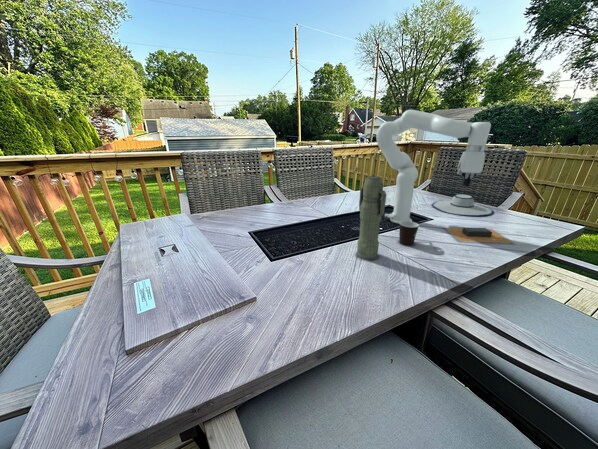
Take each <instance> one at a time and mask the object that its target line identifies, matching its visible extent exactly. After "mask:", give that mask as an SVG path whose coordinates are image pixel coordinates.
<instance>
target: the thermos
mask: <svg viewBox="0 0 598 449" xmlns="http://www.w3.org/2000/svg"><path fill="white" fill-rule="evenodd" d="M386 201H387V192H386V190H384V182H383V178H382V177H380V176H376V175H372V176H367V177H366V178H365V180H364V183H363V186H361V188H360V189H359V202H358V207H359V208H358V209H359V219H360V223H359V224H360V225H359V236H358V239H357V246H356V247H357V248H356V251H357V252H356V254H357V257H358V258H360V259H362V260H366V261H370V260H371V261H373V260H375V259H377V257H378V253H379V246H380V243H379V233H380V223H381V221H382V218H383V217H382V216H384V215H385V208H386Z"/></svg>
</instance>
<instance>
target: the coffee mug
mask: <svg viewBox="0 0 598 449" xmlns="http://www.w3.org/2000/svg"><path fill="white" fill-rule="evenodd" d="M419 227H420V224H419V223H417V222H415V221H412V222H411V221H402V222H400V224H399V231H398V232H399V236H398V238H399V244H401V245H402V246H406V247H407V246H408V247H410V246H413V245H414V243H415V239H416V237H417V233H418V230H419Z"/></svg>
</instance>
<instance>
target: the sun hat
mask: <svg viewBox="0 0 598 449" xmlns="http://www.w3.org/2000/svg"><path fill="white" fill-rule="evenodd" d="M431 206H432V207H433V208H435V209H436V210H438V211H440V212H443V213H445V214H450V215H454V216H468V217H483V216H490V215H493V214H494V210H493V209H491V208H489V207H486V206H483V205H481V204H478V203H477V202H476V203H475V199H474V197H473V196H472V195H469V194H461V193H460V194H458V193H457V194H455V195H453V197H452V199H443V200H437V201H434V202H433V203H432V204H431Z"/></svg>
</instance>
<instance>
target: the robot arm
mask: <svg viewBox="0 0 598 449" xmlns="http://www.w3.org/2000/svg"><path fill="white" fill-rule="evenodd" d="M491 128H492V124H491V122H488V121H476V122H469V121H465V120H459V119H454V118H450V117H445V116H441V115H439V114H436V113H431V112H425V111H421V110H420V111H419V110H417V109H416V110H415V109H407V110H405V111H403V113H402V114H401V116H400V117H398V118H396V119H395V120H392V121H391V120H389V121H384V122H383V123H381V125H380V126H379V127H378V129H377V132H376V137H375V138H376V139H375V140H376V143H377V146H378V148H379V149H380V151H381V153H382V155H383V156H384V159H385V160H386V161H387V163H388V165H389V166H390V168H391V169H393V170H397V172H398V174H397V175H396V180H395V181H396V182H395V183H396V184H395V185H396V186H395V194H394V195H395V196H394V202H393V204H394V205H393V211H392V212H391V213H384V217H385V218H387V219H389V221H390V222H391V223H394V224H398V225H400V222H402V221H411V222H413V219H412V218H411V212H412V211H411V210H412V204H413V196H414V187H415V182H416V181H417V179H418V177H419V171H418V169H417V167H416V165H415V163H414V162H413V160H412V159H411V158H410V156H409V154H408V153H406V152H405V151H401V150H400V148H399V147H398V144H397V143H396V141H394V137H397V136H400V135H401V134H402V133H403V134H404V133H405V132H407V131H408V130H411V129H414V130H415V129H416V130H420V131H424V132H427V133H434V134H439V135H441V136H447V137H452V138H455V139H463V138H468V139H467V144H466V147H465V151H463V152H462V154H461V156H460V157H459V158H460V159H459V161H458V163H457V164H458V165H457V168H456V170H457V173H456V174H457V175H459V176H461V177H462V186H463V187H464V188H465V187H467V188H468V187H470V185H471V181H472V180H473V178H475V177H477V176H480V175H482V171H483V169H484V164H485V159H486V152H485V151H487V150H488V149H489V147H488V146H486V145H487V142H488V138H489V134H490V131H491Z"/></svg>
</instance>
